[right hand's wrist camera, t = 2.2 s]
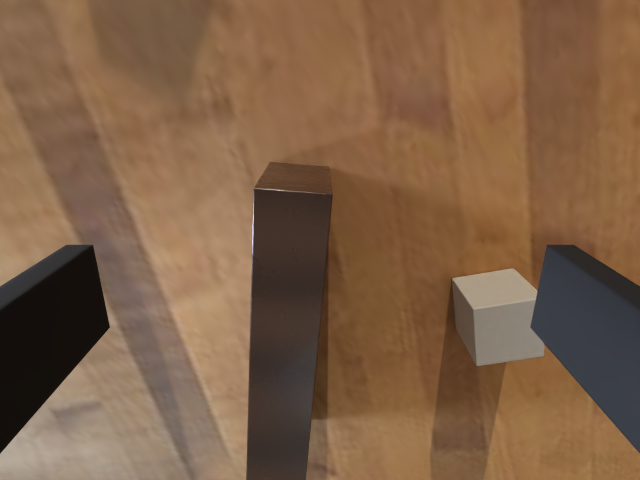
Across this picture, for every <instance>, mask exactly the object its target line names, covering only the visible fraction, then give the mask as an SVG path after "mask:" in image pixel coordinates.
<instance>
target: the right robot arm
mask: <svg viewBox="0 0 640 480" xmlns="http://www.w3.org/2000/svg"><path fill="white" fill-rule="evenodd" d="M109 328H110V326H109V321H108V316H107V311H106V306H105V301H104V297H103V292H102V287H101V282H100V277H99V272H98V267H97V262H96V258H95V253H94V248H93V245H66V246H64V247H62V248H61V249H59V250H58V251H56V252H54V253H53V254H51V255H50V256H48V257H46V258H45V259H43V260H42V261H40V262H39V263H37V264H35V265H34V266H32V267H31V268H29V269H27V270H26V271H24V272H23V273H21V274H19V275H18V276H16V277H15V278H13V279H12V280H10V281H8V282H7V283H5V284H4V285H2V286H0V453H1V452H2V451H3V450H4V449H5V447H6V446H7V445H8V444H9V443H10V442H11V440H12V439H13V438H14V437H15V436H16V435H17V434H18V432H19V431H20V430H21V429H22V428H23V427H24V426H25V424H26V423H27V422H28V421H29V420H30V419H31V417H32V416H33V415H34V414H35V413H36V412H37V411H38V409H39V408H40V407H41V406H42V405H43V404H44V402H45V401H46V400H47V399H48V398H49V397H50V396H51V394H52V393H53V392H54V391H55V390H56V389H57V388H58V386H59V385H60V384H61V383H62V382H63V381H64V379H65V378H66V377H67V376H68V375H69V374H70V373H71V371H72V370H73V369H74V368H75V367H76V366H77V365H78V363H79V362H80V361H81V360H82V359H83V358H84V356H85V355H86V354H87V353H88V352H89V351H90V350H91V348H92V347H93V346H94V345H95V344H96V343H97V341H98V340H99V339H100V338H101V337H102V336H103V335H104V333H105V332H106V331H107V330H108V329H109ZM530 328H531V329H532V330H533V331H534V332H535V333H536V335H537V336H538V337H539V338H540V339H541V340H542V342H543V343H544V344H545V345H546V346H547V347H548V348H549V350H550V351H551V352H552V353H553V354H554V355H555V356H556V358H557V359H558V360H559V361H560V362H561V363H562V365H563V366H564V367H565V368H566V369H567V370H568V371H569V373H570V374H571V375H572V376H573V377H574V378H575V379H576V381H577V382H578V383H579V384H580V385H581V386H582V388H583V389H584V390H585V391H586V392H587V393H588V394H589V396H590V397H591V398H592V399H593V400H594V401H595V402H596V404H597V405H598V406H599V407H600V408H601V409H602V411H603V412H604V413H605V414H606V415H607V416H608V417H609V419H610V420H611V421H612V422H613V423H614V424H615V426H616V427H617V428H618V429H619V430H620V431H621V432H622V434H623V435H624V436H625V437H626V438H627V439H628V440H629V442H630V443H631V444H632V445H633V446H634V447H635V449H636V450H637V451H638V452H639V453H640V286H638V285H636V284H635V283H633V282H632V281H630V280H628V279H627V278H625V277H624V276H622V275H621V274H619V273H617V272H616V271H614V270H613V269H611V268H609V267H608V266H606V265H605V264H603V263H601V262H600V261H598V260H597V259H595V258H594V257H592V256H590V255H589V254H587V253H586V252H584V251H582V250H581V249H579V248H578V247H576V246H574V245H547V248H546V253H545V258H544V262H543V267H542V272H541V277H540V282H539V287H538V292H537V297H536V301H535V306H534V311H533V316H532V321H531V326H530Z"/></svg>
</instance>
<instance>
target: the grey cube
mask: <svg viewBox="0 0 640 480" xmlns="http://www.w3.org/2000/svg"><path fill="white" fill-rule="evenodd" d="M452 286H453V299H454V312H455V325H456V330H457V332H458V334H459V336H460V338H461V339H462V341H463V343H464V345H465V347H466V348H467V350H468V352H469V354H470V356H471V357H472V359H473V361H474V363H475V365H476V366H483V365H489V364H496V363H503V362H509V361H516V360H523V359H530V358H536V357H543V356H544V343H543V342H542V340H541V339H540V338H539V337H538V336H537V335H536V333H535V332H534V331H533V330H532V329H531V328H530V326H531V321H532V316H533V311H534V306H535V301H536V297H537V292H538V291H537V290H536V289H535V288H534V287H533V286H532V285H531V284H530V283H529V282H528V281H527V280H525V279H524V278H523V277H522V276H521V275H520V274H519V273H518V272H517V271H516V270H515V269H514V268H511V269H505V270H499V271H493V272H487V273H481V274H474V275H468V276H462V277H456V278H452Z"/></svg>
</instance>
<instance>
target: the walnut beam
mask: <svg viewBox="0 0 640 480" xmlns="http://www.w3.org/2000/svg"><path fill="white" fill-rule="evenodd" d="M332 196H333V194H332V186H331V178H330V170H329V167H323V166H311V165H299V164H286V163H274V162H270V163H269V164H268V166H267V168H266V169H265V171H264V173H263V174H262V176H261V177H260V179H259V181H258V182H257V184H256V186H255V187H254V194H253V234H252V275H251V315H250V355H249V395H248V435H247V475H246V480H306V471H307V461H308V450H309V440H310V429H311V418H312V408H313V397H314V387H315V376H316V365H317V355H318V344H319V334H320V323H321V312H322V302H323V291H324V281H325V270H326V259H327V249H328V238H329V228H330V217H331V206H332Z"/></svg>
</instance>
